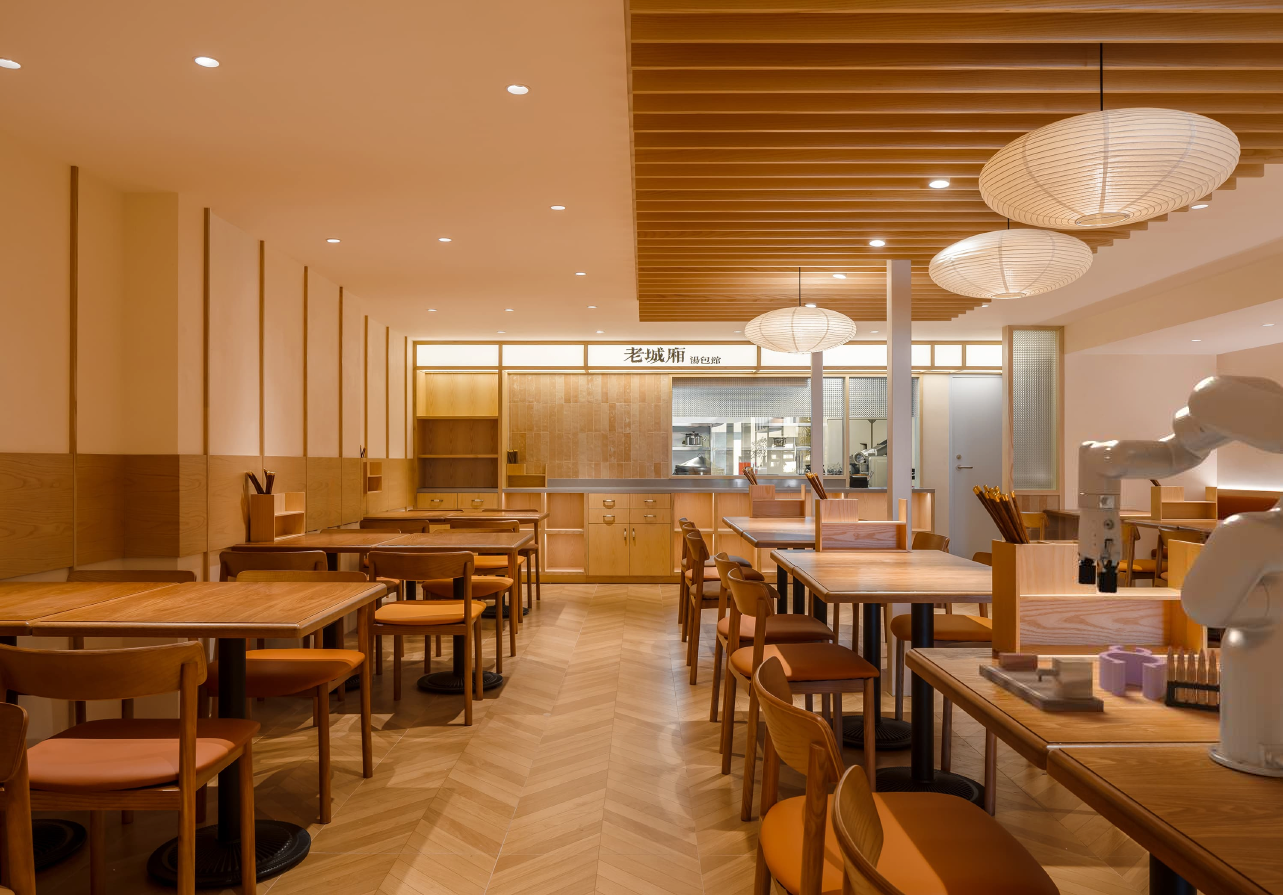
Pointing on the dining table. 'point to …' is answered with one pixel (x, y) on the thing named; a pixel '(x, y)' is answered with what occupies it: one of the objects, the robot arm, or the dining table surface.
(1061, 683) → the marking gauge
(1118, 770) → the dining table surface
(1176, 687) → the ammunition clip
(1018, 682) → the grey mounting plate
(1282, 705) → the robot arm
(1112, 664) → the clip
